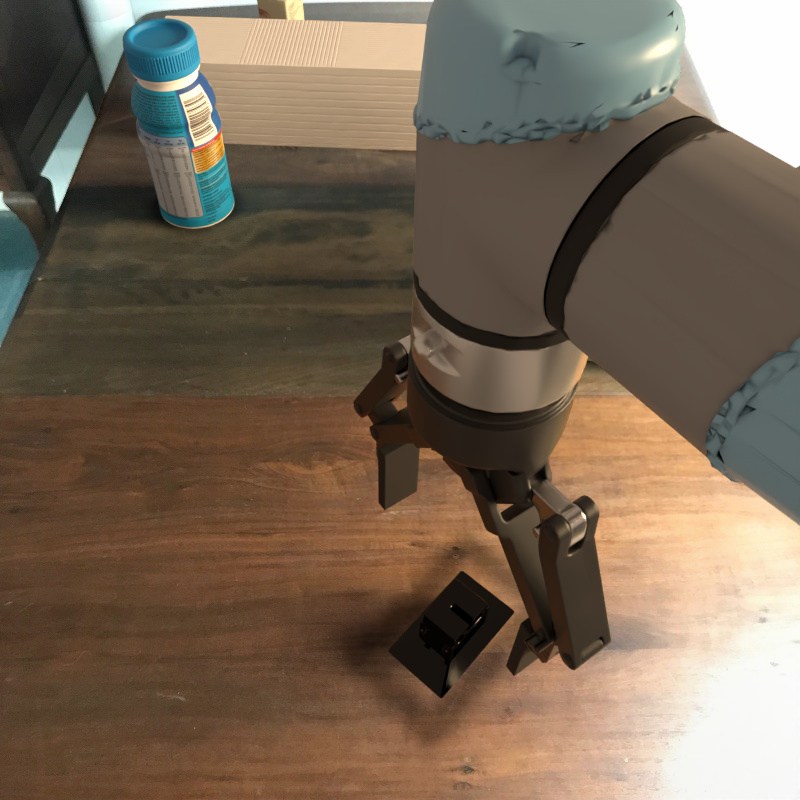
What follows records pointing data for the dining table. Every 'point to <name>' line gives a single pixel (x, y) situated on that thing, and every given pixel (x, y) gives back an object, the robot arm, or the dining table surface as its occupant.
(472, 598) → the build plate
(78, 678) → the dining table surface
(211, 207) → the beverage bottle
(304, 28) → the beige ridged block
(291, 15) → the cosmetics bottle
